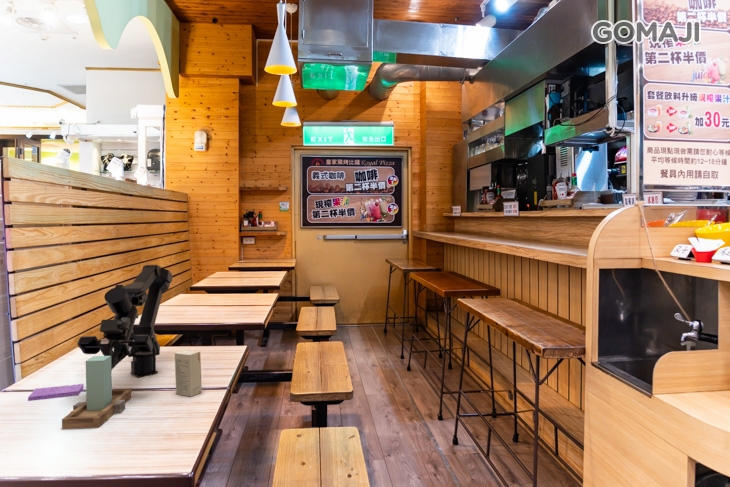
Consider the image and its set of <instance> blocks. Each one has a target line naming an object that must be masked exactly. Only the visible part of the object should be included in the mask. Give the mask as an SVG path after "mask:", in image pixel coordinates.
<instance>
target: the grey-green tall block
mask: <svg viewBox="0 0 730 487" xmlns="http://www.w3.org/2000/svg"><path fill="white" fill-rule="evenodd" d="M112 370H113V369H112ZM112 370H111V356H104V355H99V356H98V355H94V356H92V357H90V358H89V359H87V360H85V384H86V386H85V388H86V392H85V394H86V401H87V411H97V410H103V409H105V408H106V407H107V406H108V405H109V404H110V403H112V390H113V381H112V380H113V379H112V378H113V377H112V376H113V375H112Z"/></svg>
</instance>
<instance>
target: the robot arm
mask: <svg viewBox="0 0 730 487" xmlns="http://www.w3.org/2000/svg"><path fill="white" fill-rule="evenodd" d="M172 282H173V274H172V273H171V271H170V270H169V269H167V268H163V267H161V266H160V265H159V264H145V265H143V267H142V270H141V271H140V273H138V275H137V276H136V278H135V279H133V282H132V283H127V284H126V285H124V284H115V287H113V288H110V289H108V291H106V293H105V294H104V300H105V302H106V304H107V305H108V307H109V310H110V312H112V313H113V314H115V315H114V317H113V319H101V321H100V326H99V332H100V333H103V335H102V336H103V337H104V338H101V339H100V340H99V339H98V338H97V336H96V335H82V336H80V337H79V338H78V341H77V343H76V345H77V346H78V348H79V349H80V351H81V352H82V353H83V354H85V355H96V354H98V353H99V352H100V353H101V354H102V356H111V370H113V369H114V368H115V367H116V366H117V365H119V363H121V361H123V360H124V359H125V358H127V357H128V358H132V360H131V361H130V366H131V367H130V374H131V375H133V376H135V377H136V378H142V377H147V376H150V375H155V374H158V373H159V371H158V370H157V367H156V366H157V364H156V362H157V361H156V360H157V357H156V356H159V355H161V354H160V352H161V345H160V343H159V342H158V340H157V336H156V333H155V331H154V329H155V326H156V320H157V316H158V311H159V309H160V305H161V301H162V297H163V294H165V293H166V292H167V291H168V290H169V288H170V285H171V284H172ZM142 306H143V308H142V311H141V315H140V320H139V322H138V325H137V326H134V325H135V323H136V319H139V314H138V312H139V311H138V308H137V307H142Z"/></svg>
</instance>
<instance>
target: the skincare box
mask: <svg viewBox="0 0 730 487" xmlns="http://www.w3.org/2000/svg"><path fill="white" fill-rule="evenodd" d="M201 356H202V355H201V351H198V350H190V349H184V350H183V349H182V350H180V351H177V352H175V353H174V372H175V394H176V395H181V396H186V397H193V396H196V395H198V394H200V393H202V392H203V390H202V387H203V384H202V364H201V363H202V361H201V360H202V359H201Z"/></svg>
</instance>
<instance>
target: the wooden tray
mask: <svg viewBox="0 0 730 487" xmlns="http://www.w3.org/2000/svg"><path fill="white" fill-rule="evenodd" d="M132 397H133V396H132V389H131V388H129V389H127V388H123V389H122V388H121V389H112V403H110V404H109V405H108V406H107V407H106V408H105V409H103V410H97V411H87V400H86V401H78V402H76V403H75V404H74V405H73V406H72V407H73V410H71V411H70V412H69V413H68V414H67V415H65V416H64V417H63V418H61V430H73V429H75V430H76V429H98V428H100V427H101V426H103V425H104V424H105V422H108V421H109V419H110V418H111V417H113V415H115V414H122V413H123V412H124V411H125V410H126V403H127V402H128V401H129V400H131V398H132Z"/></svg>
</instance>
